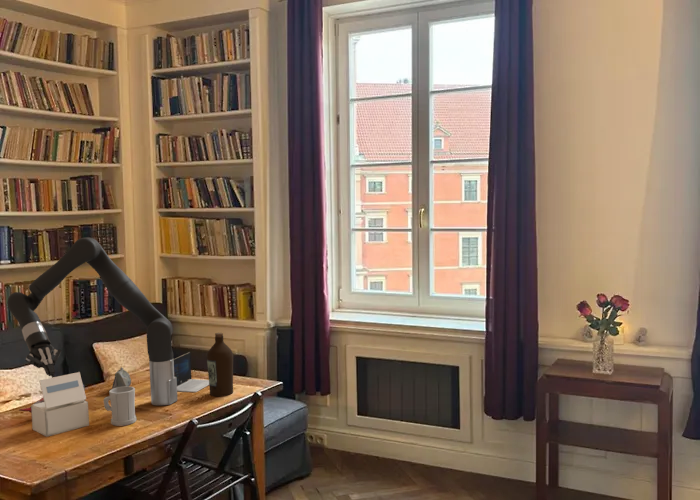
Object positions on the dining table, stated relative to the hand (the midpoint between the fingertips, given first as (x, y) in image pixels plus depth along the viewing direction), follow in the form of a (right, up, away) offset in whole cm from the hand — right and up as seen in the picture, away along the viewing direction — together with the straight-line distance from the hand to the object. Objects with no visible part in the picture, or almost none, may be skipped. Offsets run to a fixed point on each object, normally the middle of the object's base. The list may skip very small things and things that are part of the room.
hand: (51, 374), depth 240 cm
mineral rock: (+11, -15, +45) cm, 49 cm away
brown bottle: (+54, -15, +35) cm, 66 cm away
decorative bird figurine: (-8, -18, +8) cm, 21 cm away
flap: (+8, -9, -7) cm, 14 cm away
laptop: (+40, -14, +48) cm, 64 cm away
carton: (+4, -18, -2) cm, 19 cm away
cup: (+25, -18, +1) cm, 30 cm away
